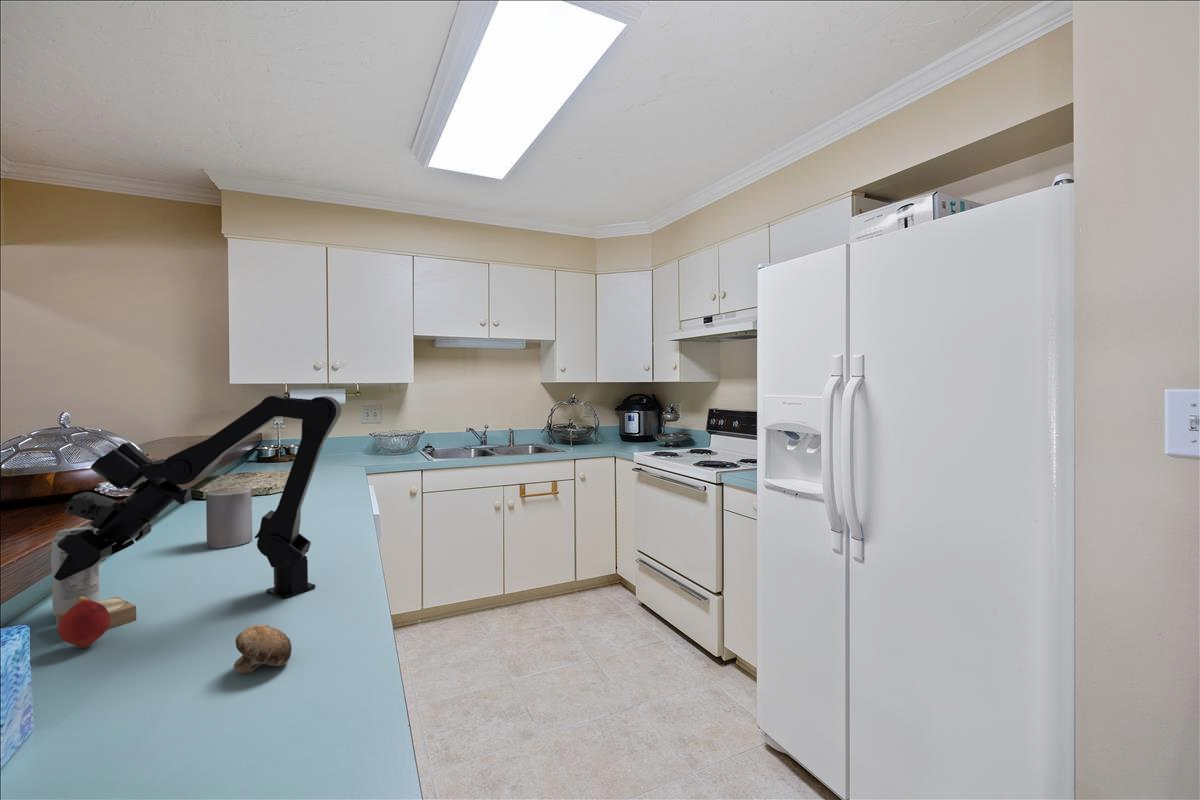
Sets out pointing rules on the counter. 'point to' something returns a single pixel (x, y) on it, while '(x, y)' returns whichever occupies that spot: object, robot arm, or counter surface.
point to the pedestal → (112, 611)
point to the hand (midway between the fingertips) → (68, 572)
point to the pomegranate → (84, 623)
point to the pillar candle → (228, 517)
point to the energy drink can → (72, 578)
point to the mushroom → (261, 648)
